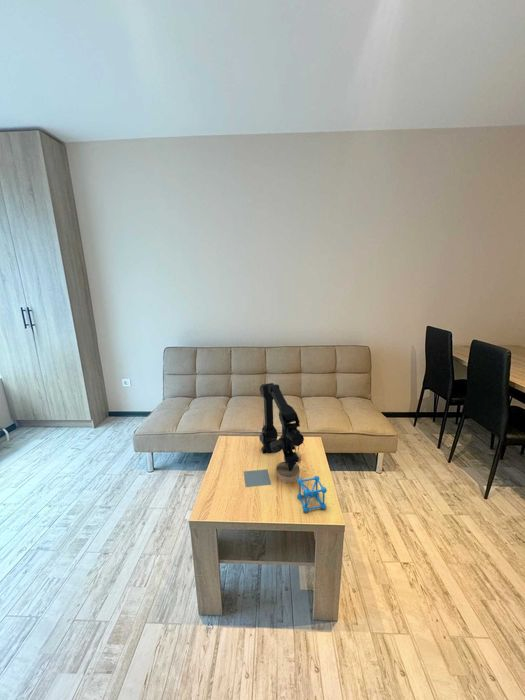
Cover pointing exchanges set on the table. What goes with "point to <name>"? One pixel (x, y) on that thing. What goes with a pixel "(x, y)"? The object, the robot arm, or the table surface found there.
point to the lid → (287, 470)
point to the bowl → (288, 478)
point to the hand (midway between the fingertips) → (288, 465)
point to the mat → (257, 478)
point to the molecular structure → (311, 493)
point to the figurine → (298, 451)
